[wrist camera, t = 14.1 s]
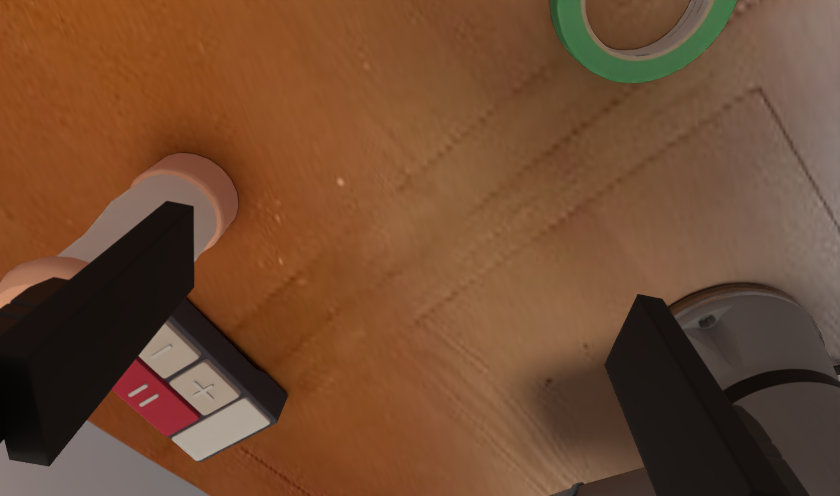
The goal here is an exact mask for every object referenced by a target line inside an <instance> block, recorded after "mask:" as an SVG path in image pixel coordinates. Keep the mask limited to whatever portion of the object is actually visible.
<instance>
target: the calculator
mask: <svg viewBox="0 0 840 496" xmlns="http://www.w3.org/2000/svg"><path fill="white" fill-rule="evenodd" d="M111 390H112V391H114V392H115V393H116V394H117V395H118V396H119V397H121V398H122V399H123V400H124V401H125V402H126V403H127V404H129V405H130V406H131V407H132V408H133V409H134V410H136V411H137V412H138V413H139V414H140V415H141V416H142V417H144V418H145V419H146V420H147V421H148V422H149V423H151V424H152V425H153V426H154V427H155V428H156V429H157V430H159V431H160V432H161V433H162V434H163V435H165V436H168V437H169V438H171V439H172V440H173V441H174V442H175V443H176V444H177V445H178V446H180V447H181V448H182V449H183V450H184V451H185V452H186V453H188V454H189V455H190V456H191V457H192V458H193V459H195V460H196V461H198V462H202V461H204V460H206V459H208V458H210V457H212V456H214V455H216V454H217V453H219V452H221V451H223V450H225V449H227V448H229V447H231V446H233V445H235V444H237V443H239V442H241V441H243V440H245V439H247V438H249V437H250V436H252V435H254V434H256V433H258V432H260V431H262V430H264V429H266V428H268V427H270V426H272V425H274V424H276V423H277V421H278V419H279V416H280V414H281V412H282V409H283V407H284V404H285V402H286V399H287V394H286V393H285V392H284V391H283V390H282V389H281V388H280V387H279V386H278V385H277V384H276V383H275V382H274V381H273V380H272V379H271V378H270V377H269V376H268V375H267V374H266V373H265V372H262V371H259V370H256V369H255V368H254V367H253V366H252V365H251V364H250V363H249V362H248V361H247V360H246V359H245V358H244V357H243V356H242V355H241V354H240V353H239V352H238V351H237V350H236V349H235V348H234V347H233V346H232V345H231V344H230V343H229V342H228V341H227V340H226V339H225V338H224V337H223V336H222V335H221V334H220V333H219V332H218V331H217V330H216V329H215V328H214V327H213V326H212V325H211V324H210V323H209V322H208V321H207V320H206V319H205V318H204V316H203V315H202V314H201V313H200V312H199V311H198V310H197V309H196V308H195V307H194V306H193V305H192V304H191V303H190V302H189V301H188V300H187V299H186V298H185V299H184V300H183V301H182V302H181V304H180V305H179V306H178V307H177V309H176V310H175V311H174V312H173V314H172V315H171V316H170V317H169V319H168V320H167V321H166V322H165V324H164V325H163V326H162V327H161V329H160V330H159V331H158V332H157V333H156V335H155V336H154V337H153V338H152V340H151V341H150V342H149V343H148V345H147V346H146V347H145V348H144V350H143V351H142V352H141V353H140V355H139V356H138V357H137V358H136V359H135V361H134V362H133V363H132V364H131V366H130V367H129V368H128V369H127V371H126V372H125V373H124V374H123V376H122V377H121V378H120V379H119V381H118V382H117V383H116V384H115V386H114V387H113V388H112V389H111Z"/></svg>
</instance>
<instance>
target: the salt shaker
mask: <svg viewBox="0 0 840 496" xmlns="http://www.w3.org/2000/svg"><path fill="white" fill-rule="evenodd" d="M166 201H171V202H176V203H182V204H187V205H192V206H194V262H195V261H196V259H197V258H198V257H199V255H200V254H201V253H202V252H204V251H205V250H207V249H209V248H210V247H212V246H213V245H215V243H216V242H217V241H218V240H219V238H220V237H221V236H222V234H223V233H224V232H225V231H226V229H227V228H228V227H229V226H230V224H231V223H232V221H233V220H234V219H235V217H236V214H237V210H238V206H239V205H238V196H237V191H236V189H235V187H234V185H233V183H232V180H231V179H230V178H229V176H228V175H227V174H226V173H225V172H224V171H223V169H222V168H221V167H219V166H218V165H216V164H215V163H213V162H212V161H211V160H209V159H207V158H204V157H201V156H199V155H196V154H190V153H177V154H173V155H169V156H166V157H164V158H163V159H162V160H160V161H159V162H157V163H156V164H155V165H153V166H152V167H151V168H149V169H148V170H146V171H145V172H144V173H142V174H141V175H139V176H138V177H137V178H135V180H134V181H133V183H132V185H131V186H130V188H129V190H128V191H126V192H125V193H123V194H122V195H120V196H119V197H117V198H116V199H115V200H113V201H112V202H111V203H110V204H109V205H108V206H107V208H106V209H105V210H104V211H103V212H102V214H101V215H100V216H99V217H98V219H97V220H96V221H95V222H94V223H93V225H92V226H91V227H90V228H89V230H88V231H87V232H86V233H85V234H84V235H83V236H82V237H80V238H79V239H78V240H77V241H75V242H74V243H73V244H71V245H70V246H69V247H68V248H66V249H65V250H64V251H63V252H61V253H60V254H59V255H58V256H51V257H45V258H40V259H36V260H32V261H28V262H24V263H21V264H19V265H18V266H16V267H15V268H13V269H12V270H11V271H9V272H8V273H7V274H6V275H5V277H4V278H3V279H2V281H1V282H0V308H2V307H3V306H4V305H6V304H7V303H8V304H10V302H11V300H12V299H14V298H15V297H16V296H18V295H19V294H20V293H22V292H23V291H24V290H26V289H27V288H28V287H30V286H33V285H35V284H37V283H40V282H42V281H45V280H47V279H50V278H52V277H57V278H62V279H67V280H69V279H71V278H72V277H73V276H74V275H76V274H77V273H78V272H79V271H81V270H82V269H83V268H84V267H85V266H87V265H88V264H89V263H90V262H92V261H93V260H94V259H95V258H97V257H98V256H99V255H100V254H101V253H103V252H104V251H105V250H106V249H108V248H109V247H110V246H111V245H113V244H114V243H115V242H116V241H118V240H119V239H120V238H121V237H122V236H124V235H125V234H126V233H127V232H129V231H130V230H131V229H132V228H134V227H135V226H136V225H137V224H138V223H140V222H141V221H142V220H143V219H145V218H146V217H147V216H148V215H150V214H151V213H152V212H153V211H154V210H156V209H157V208H158V207H159V206H161V205H162V204H163V203H164V202H166Z"/></svg>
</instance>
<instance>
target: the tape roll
mask: <svg viewBox="0 0 840 496" xmlns="http://www.w3.org/2000/svg"><path fill="white" fill-rule="evenodd" d="M736 2H737V0H691V1H690V4H689V5H688V7H687V9H686V11H685V13H684V14H683V16H682V17H681V19H680V21H679V22H678V23H677V24H676V26H675V27H674V28H673V29H672V30H671V31H670V32H669V33H668V34H666V35H665V36H664V37H662V38H661V39H660V40H658V41H656V42H654V43H653V44H650V45H648V46H646V47H643V48H639V49H634V50H615V49H612V48H608V47H606V46H605V45H604V44H603V43H601V42H600V41H599V39H598V38H597V37H596V35H595V34H594V33H593V31H592V29H591V27H590V25H589V22H588V20H587V16H586V9H585V0H550V11H551V17H552V22H553V25H554V28H555V31H556V33H557V35H558V37H559V39H560V41H561V43H562V44H563V46H564V47H565V49H566V50H567V51H568V52H569V53H570V55H571V56H572V57H573V58H575V59H576V60H577V61H578V62H579V63H580V64H582V65H583V66H584V67H586V68H587V69H588V70H590V71H591V72H593V73H595V74H597V75H599V76H601V77H603V78H606V79H608V80H612V81H616V82H622V83H641V82H648V81H652V80H656V79H659V78H662V77H665V76H667V75H669V74H672V73H674V72H676V71H678V70H679V69H681V68H683V67H685V66H686V65H687V64H689V63H690V62H692V61H693V60H694V59H696V58H697V57H698V56H699V55H700V54H701V53H703V52H704V51H705V50H706V49H707V48H708V47H709V46H710V45H711V43H712V42H713V41H714V40H715V39H716V37H717V36H718V35H719V34H720V32H721V31H722V29H723V28H724V26H725V24H726V23H727V21H728V20H729V18H730V16H731V14H732V12H733V10H734V7H735V5H736Z"/></svg>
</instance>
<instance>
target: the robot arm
mask: <svg viewBox="0 0 840 496" xmlns="http://www.w3.org/2000/svg"><path fill="white" fill-rule="evenodd" d="M193 288H194V206H192V205H187V204H182V203H176V202H171V201H166V202H164V203H163V204H162V205H161V206H159V207H158V208H157V209H156V210H154V211H153V212H152V213H151V214H150V215H148V216H147V217H146V218H145V219H143V220H142V221H141V222H140V223H138V224H137V225H136V226H135V227H134V228H132V229H131V230H130V231H129V232H127V233H126V234H125V235H124V236H122V237H121V238H120V239H119V240H118V241H116V242H115V243H114V244H113V245H111V246H110V247H109V248H108V249H106V250H105V251H104V252H103V253H101V254H100V255H99V256H98V257H97V258H95V259H94V260H93V261H92V262H90V263H89V264H88V265H87V266H85V267H84V268H83V269H82V270H81V271H79V272H78V273H77V274H76V275H74V276H73V277H72V278H71V279H69V280H67V279H62V278H57V277H52V278H50V279H47V280H45V281H42V282H40V283H37V284H35V285H33V286H30V287H28V288H27V289H26V290H24V291H23V292H22V293H20V294H19V295H18V296H16V297H15V298H14V299H12V300H11V302H10V304H8V303H7V304H6V305H4V306H3V307H2V308H0V443H1V442H2V441H3V440H5V444H6V448H7V452H8V456H9V459H10V460H15V461H20V462H26V463H32V464H38V465H45V466H50V465H51V464H52V462H53V461H54V460H55V459H56V457H57V456H58V455H59V454H60V452H61V451H62V450H63V449H64V447H65V446H66V445H67V444H68V442H69V441H70V440H71V439H72V438H73V436H74V435H75V434H76V433H77V431H78V430H79V429H80V428H81V426H82V425H83V424H84V423H85V421H86V420H87V419H88V418H89V417H90V415H91V414H92V413H93V412H94V410H95V409H96V408H97V407H98V405H99V404H100V403H101V402H102V400H103V399H104V398H105V397H106V395H107V394H108V393H109V392H110V390H111V389H112V388H113V387H114V386H115V384H116V383H117V382H118V381H119V379H120V378H121V377H122V376H123V374H124V373H125V372H126V371H127V369H128V368H129V367H130V366H131V364H132V363H133V362H134V361H135V359H136V358H137V357H138V356H139V355H140V353H141V352H142V351H143V350H144V348H145V347H146V346H147V345H148V343H149V342H150V341H151V340H152V338H153V337H154V336H155V335H156V333H157V332H158V331H159V330H160V329H161V327H162V326H163V325H164V324H165V322H166V321H167V320H168V319H169V317H170V316H171V315H172V314H173V312H174V311H175V310H176V309H177V307H178V306H179V305H180V304H181V302H182V301H183V300H184V299H185V298H186V296H187V295H188V294H189V293H190V291H191V290H192V289H193ZM604 365H605V368H606V370H607V373H608V375H609V378H610V380H611V383H612V385H613V388H614V390H615V393H616V396H617V398H618V401H619V403H620V406H621V408H622V411H623V413H624V416H625V418H626V421H627V423H628V426H629V428H630V431H631V433H632V436H633V438H634V441H635V443H636V446H637V448H638V451H639V453H640V456H641V458H642V461H643V463H644V466H645V468H641V469H637V470H634V471H630V472H627V473H623V474H619V475H616V476H612V477H608V478H605V479H601V480H598V481H594V482H590V483H587V484H584V483H583V482H580V483H576V484H574V485H573V486H572V487H571V488H570V489H567V490H564V491H561V492H558V493H555V494H552V495H550V496H840V381H839V379H838V376H837V375H840V365H837V366H833V365H832V362H831V360H830V358H829V356H828V353H827V351H826V349H825V345H824V341H823V339H822V335H821V332H820V330H819V328H818V327H817V324H816V323H815V321H814V320H813V318H812V317H811V316H810V315H809V314H808V313H807V312H806V311H805V310H804V309H803V308H802V307H801V306H800V305H799V304H798V303H797V302H796V301H795V300H794V299H792V298H791V297H790V296H788V295H786V294H785V293H783V292H781V291H779V290H776V289H773V288H770V287H766V286H762V285H755V284H732V285H724V286H719V287H714V288H710V289H707V290H704V291H701V292H698V293H696V294H693V295H691V296H689V297H687V298H685V299H683V300H681V301H679V302H678V303H676V304H674V305H673V306H671V307H670V308H668V307H667V305H666V304H665V302H664V301H663V299H660V298H655V297H650V296H645V295H640V294H638V295H637V297H636V299H635V301H634V303H633V305H632V307H631V309H630V311H629V314H628V316H627V318H626V320H625V322H624V324H623V326H622V328H621V330H620V333H619V335H618V337H617V339H616V341H615V343H614V345H613V347H612V350H611V352H610V354H609V356H608V358H607V360H606V362H605V364H604Z"/></svg>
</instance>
